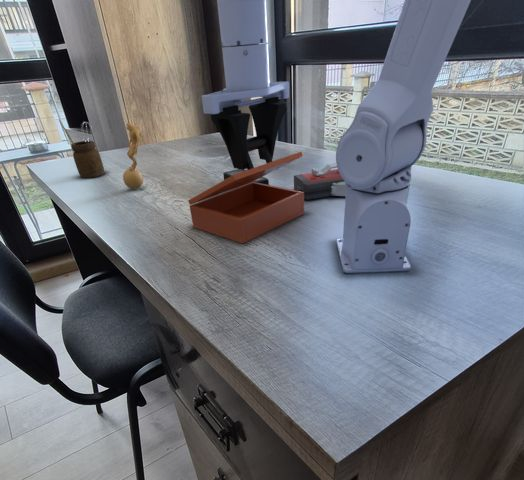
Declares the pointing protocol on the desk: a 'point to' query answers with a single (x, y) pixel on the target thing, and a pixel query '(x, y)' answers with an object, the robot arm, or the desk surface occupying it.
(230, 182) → the lid
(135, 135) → the figurine
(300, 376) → the desk surface
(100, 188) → the desk surface
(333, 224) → the desk surface
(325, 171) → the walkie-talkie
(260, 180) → the multiport hub
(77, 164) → the brown clasp jar
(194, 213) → the tray
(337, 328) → the desk surface
